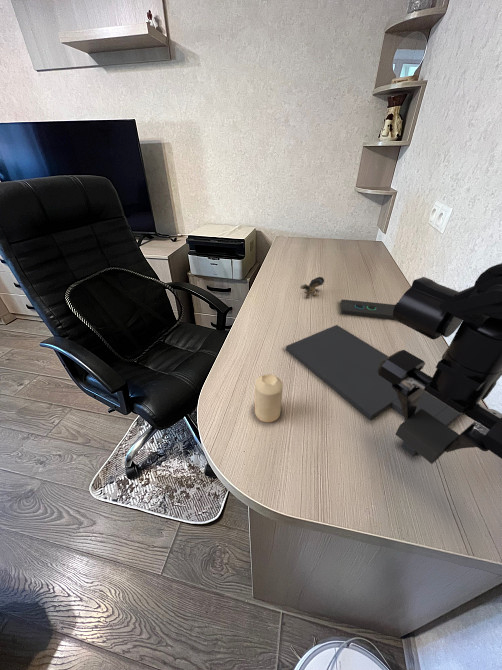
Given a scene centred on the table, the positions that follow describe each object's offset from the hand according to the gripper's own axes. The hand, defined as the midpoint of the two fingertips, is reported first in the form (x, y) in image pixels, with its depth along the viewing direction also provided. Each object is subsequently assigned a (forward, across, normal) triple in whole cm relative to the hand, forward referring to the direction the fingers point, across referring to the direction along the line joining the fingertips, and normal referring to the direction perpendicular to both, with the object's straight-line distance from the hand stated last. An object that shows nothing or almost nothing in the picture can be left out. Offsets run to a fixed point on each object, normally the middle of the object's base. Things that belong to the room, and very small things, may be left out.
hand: (426, 434), depth 43 cm
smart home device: (+11, +40, -42) cm, 59 cm away
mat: (+11, +20, -14) cm, 27 cm away
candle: (+11, +24, +13) cm, 29 cm away
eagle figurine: (+12, +60, -35) cm, 71 cm away
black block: (+1, 0, 0) cm, 1 cm away
